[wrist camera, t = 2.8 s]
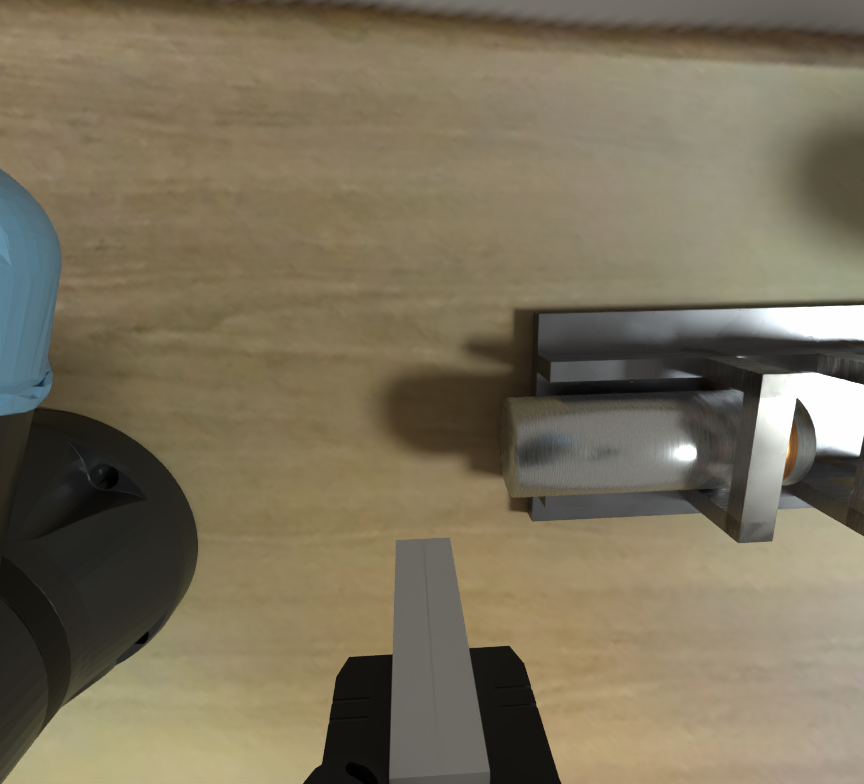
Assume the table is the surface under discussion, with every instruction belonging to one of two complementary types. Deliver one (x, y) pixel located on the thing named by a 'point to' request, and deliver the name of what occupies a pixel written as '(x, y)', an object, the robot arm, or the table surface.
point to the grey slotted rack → (723, 370)
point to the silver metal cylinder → (632, 442)
